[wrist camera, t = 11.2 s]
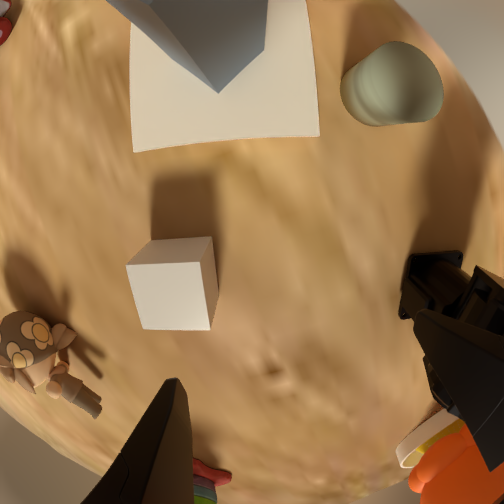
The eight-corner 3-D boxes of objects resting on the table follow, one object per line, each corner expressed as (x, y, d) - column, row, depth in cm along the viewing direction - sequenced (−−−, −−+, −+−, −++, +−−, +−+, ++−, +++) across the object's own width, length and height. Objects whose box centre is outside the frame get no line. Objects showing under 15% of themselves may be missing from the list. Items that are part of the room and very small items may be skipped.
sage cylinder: (396, 70, 16) (437, 52, 10) (401, 129, 18) (446, 127, 12) (337, 61, 16) (365, 34, 10) (342, 124, 18) (375, 116, 12)
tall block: (264, 50, 15) (274, -78, 3) (218, 93, 16) (148, 5, 4) (216, 17, 14) (170, -106, 2) (172, 59, 15) (66, -29, 3)
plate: (300, -11, 14) (302, -17, 13) (316, 136, 18) (319, 136, 17) (137, 8, 14) (132, 4, 13) (138, 152, 19) (133, 152, 18)
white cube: (212, 235, 21) (199, 261, 16) (219, 293, 23) (210, 330, 18) (151, 240, 21) (125, 265, 17) (162, 295, 23) (143, 329, 18)
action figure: (80, 418, 27) (-4, 344, 22) (121, 362, 31) (37, 284, 27) (78, 456, 18) (-33, 361, 14) (130, 387, 23) (14, 282, 18)
